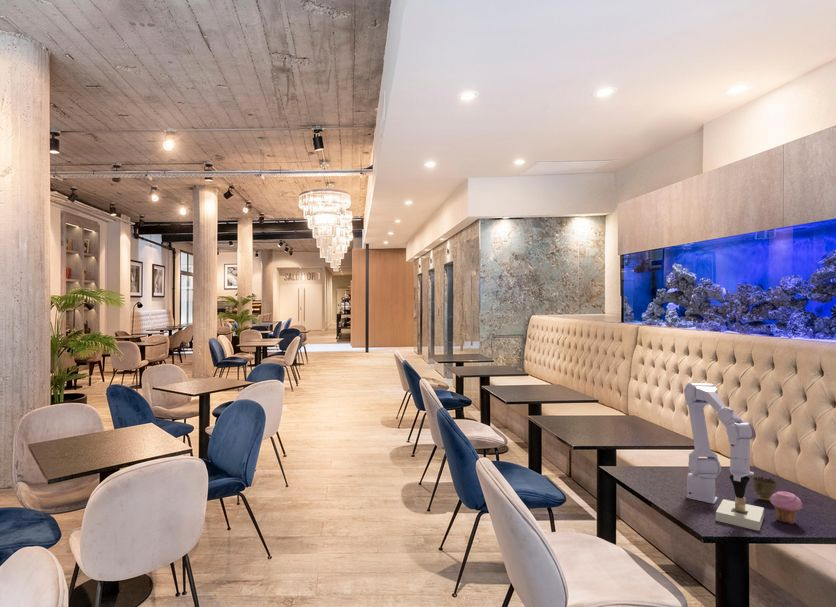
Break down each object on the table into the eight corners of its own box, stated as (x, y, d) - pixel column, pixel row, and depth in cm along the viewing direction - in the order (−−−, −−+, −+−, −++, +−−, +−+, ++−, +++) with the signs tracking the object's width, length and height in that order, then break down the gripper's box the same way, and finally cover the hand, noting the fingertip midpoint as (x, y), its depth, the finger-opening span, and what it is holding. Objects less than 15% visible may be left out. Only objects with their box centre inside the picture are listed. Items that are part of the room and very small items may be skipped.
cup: (780, 504, 190) (780, 483, 190) (758, 502, 192) (758, 481, 192) (770, 497, 198) (770, 476, 198) (749, 495, 199) (749, 475, 199)
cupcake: (767, 520, 175) (767, 491, 175) (773, 514, 181) (773, 485, 181) (799, 528, 168) (799, 498, 168) (804, 521, 174) (804, 492, 175)
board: (715, 520, 174) (715, 511, 174) (723, 507, 186) (723, 499, 186) (759, 530, 166) (759, 521, 166) (764, 516, 178) (764, 507, 178)
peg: (734, 520, 174) (734, 497, 174) (735, 518, 176) (735, 494, 177) (744, 523, 172) (745, 499, 172) (745, 520, 175) (745, 497, 175)
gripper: (751, 464, 167) (751, 506, 166) (756, 455, 178) (755, 494, 178) (726, 460, 171) (726, 500, 171) (732, 451, 182) (732, 489, 182)
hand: (739, 497), depth 175 cm, fingers closed, pressing on peg
